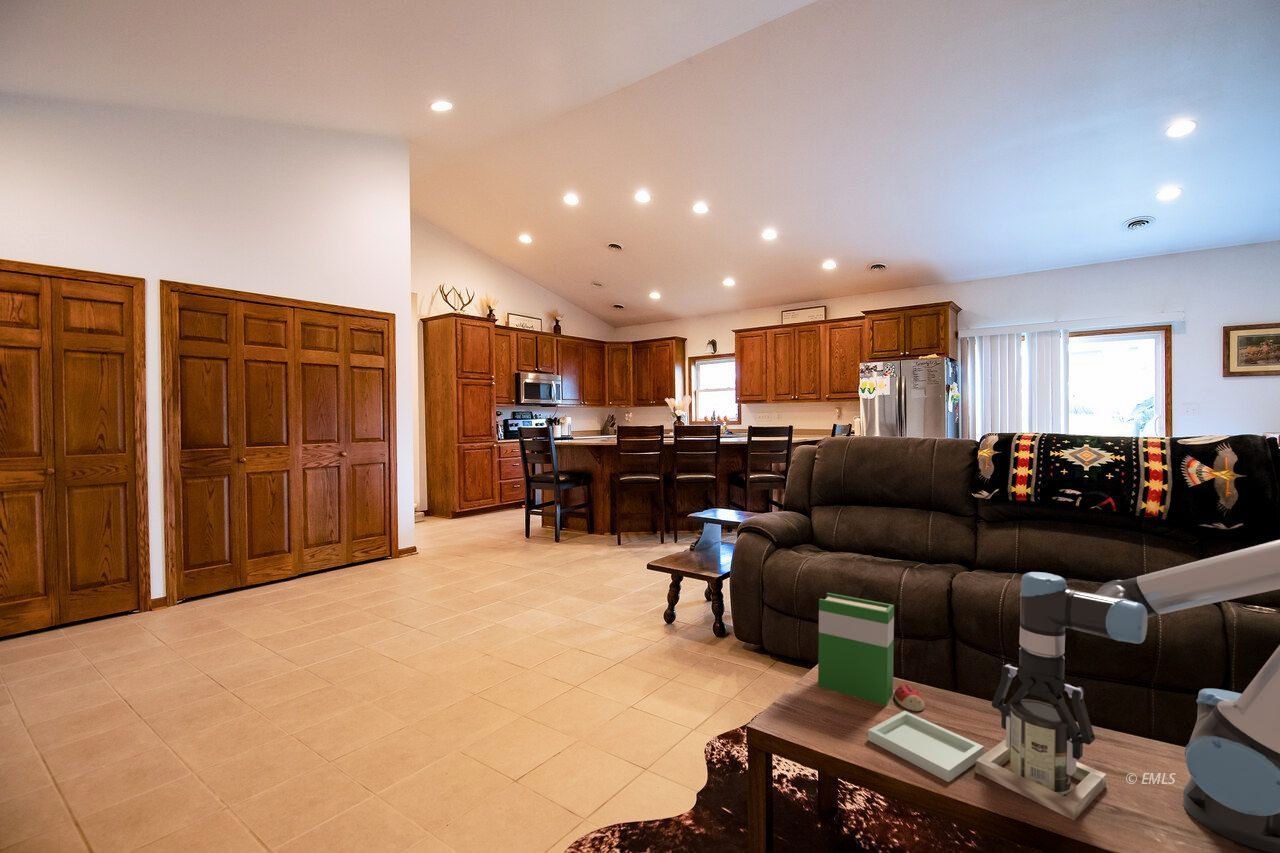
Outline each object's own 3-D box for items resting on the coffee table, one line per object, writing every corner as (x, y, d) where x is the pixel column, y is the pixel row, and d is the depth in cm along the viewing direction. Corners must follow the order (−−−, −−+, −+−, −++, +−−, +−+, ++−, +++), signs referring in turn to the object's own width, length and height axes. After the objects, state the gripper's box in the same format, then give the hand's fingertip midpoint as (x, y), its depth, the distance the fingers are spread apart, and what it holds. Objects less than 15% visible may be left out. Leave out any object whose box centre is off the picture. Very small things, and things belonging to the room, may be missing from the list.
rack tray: (983, 757, 122) (983, 746, 122) (948, 782, 113) (948, 770, 113) (904, 720, 137) (904, 710, 137) (868, 740, 128) (868, 729, 128)
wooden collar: (1106, 786, 112) (1106, 774, 112) (1074, 820, 103) (1074, 807, 103) (1011, 745, 126) (1011, 734, 126) (975, 772, 117) (975, 760, 117)
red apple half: (904, 712, 141) (904, 698, 141) (888, 693, 151) (888, 680, 151) (931, 713, 140) (931, 699, 140) (913, 694, 150) (913, 680, 150)
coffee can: (1054, 767, 118) (1055, 701, 118) (1082, 799, 108) (1083, 727, 108) (1000, 761, 120) (1001, 695, 120) (1023, 792, 110) (1024, 721, 110)
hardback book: (818, 686, 154) (819, 599, 154) (826, 676, 160) (827, 592, 160) (886, 705, 144) (887, 612, 143) (892, 694, 150) (894, 605, 149)
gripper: (1118, 666, 107) (1116, 781, 107) (990, 629, 126) (988, 727, 126) (1104, 676, 103) (1102, 796, 103) (974, 636, 121) (972, 738, 122)
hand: (1039, 758), depth 114 cm, fingers closed on coffee can, 10 cm apart
